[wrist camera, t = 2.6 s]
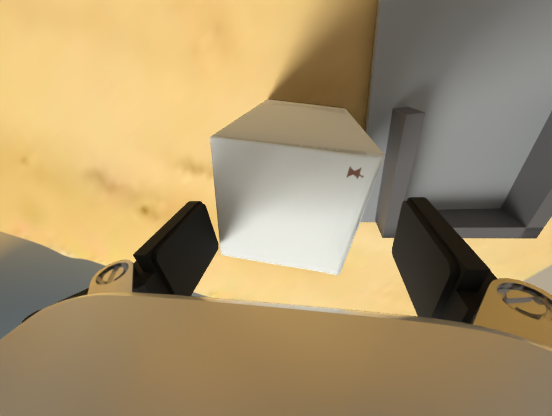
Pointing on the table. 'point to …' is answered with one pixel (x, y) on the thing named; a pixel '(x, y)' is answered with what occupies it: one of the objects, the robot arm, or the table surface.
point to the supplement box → (293, 184)
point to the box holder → (463, 114)
